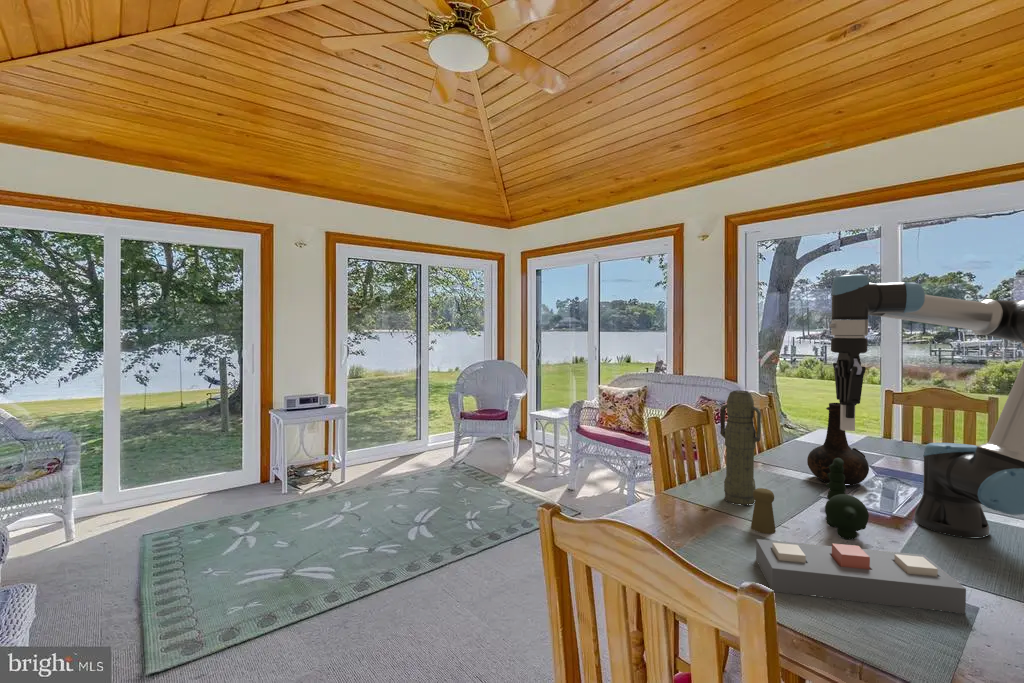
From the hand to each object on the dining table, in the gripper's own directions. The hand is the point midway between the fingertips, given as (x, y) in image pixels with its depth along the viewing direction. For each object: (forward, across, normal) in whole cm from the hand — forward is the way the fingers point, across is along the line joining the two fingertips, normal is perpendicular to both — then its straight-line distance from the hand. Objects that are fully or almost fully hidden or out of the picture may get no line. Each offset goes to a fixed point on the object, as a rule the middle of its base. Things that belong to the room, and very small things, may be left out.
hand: (847, 429), depth 122 cm
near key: (+27, +21, +5) cm, 35 cm away
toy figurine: (+30, -10, +3) cm, 31 cm away
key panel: (+29, +21, -7) cm, 37 cm away
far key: (+27, +21, -19) cm, 39 cm away
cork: (+30, -5, -18) cm, 35 cm away
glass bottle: (+30, -53, +17) cm, 63 cm away
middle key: (+26, +21, -7) cm, 34 cm away
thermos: (+30, -26, -20) cm, 44 cm away
